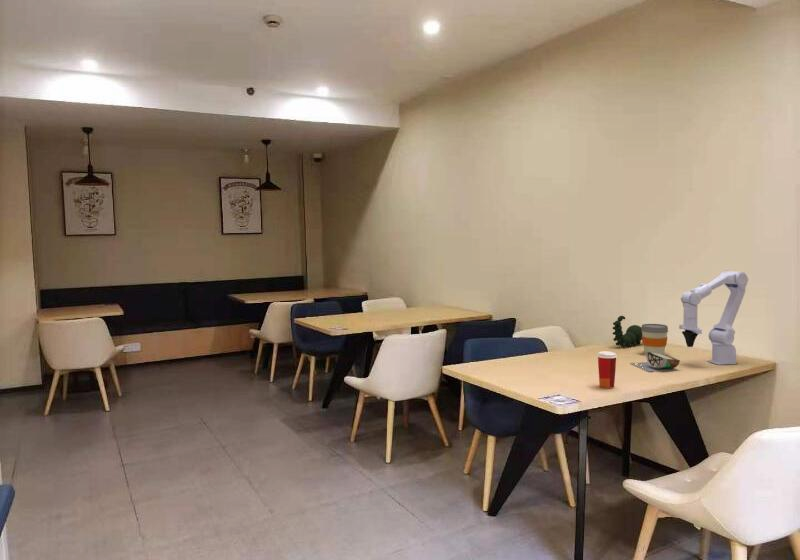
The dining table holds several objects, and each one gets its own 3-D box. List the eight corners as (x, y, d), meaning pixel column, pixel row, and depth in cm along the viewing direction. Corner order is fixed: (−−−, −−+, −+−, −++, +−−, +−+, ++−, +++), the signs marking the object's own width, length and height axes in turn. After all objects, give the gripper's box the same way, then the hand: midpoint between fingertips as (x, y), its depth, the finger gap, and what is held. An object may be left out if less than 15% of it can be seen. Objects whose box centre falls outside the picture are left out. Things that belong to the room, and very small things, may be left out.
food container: (660, 366, 264) (642, 363, 261) (663, 353, 263) (645, 351, 261) (679, 374, 252) (660, 371, 250) (682, 361, 251) (663, 358, 249)
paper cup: (612, 383, 233) (612, 350, 232) (620, 388, 225) (620, 354, 224) (593, 384, 233) (593, 351, 232) (600, 389, 225) (601, 355, 224)
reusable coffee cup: (635, 353, 289) (635, 325, 288) (652, 351, 294) (653, 322, 293) (655, 358, 278) (656, 328, 276) (673, 355, 283) (673, 326, 282)
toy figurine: (624, 353, 299) (651, 343, 312) (622, 318, 296) (650, 310, 310) (609, 350, 307) (636, 340, 320) (607, 316, 304) (634, 308, 318)
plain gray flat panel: (655, 362, 269) (655, 361, 269) (675, 370, 252) (675, 370, 252) (629, 363, 268) (629, 362, 268) (648, 372, 251) (648, 371, 251)
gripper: (673, 315, 266) (672, 344, 267) (691, 320, 251) (691, 350, 253) (687, 315, 266) (687, 343, 267) (706, 319, 252) (705, 349, 253)
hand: (690, 346), depth 260 cm, fingers closed
